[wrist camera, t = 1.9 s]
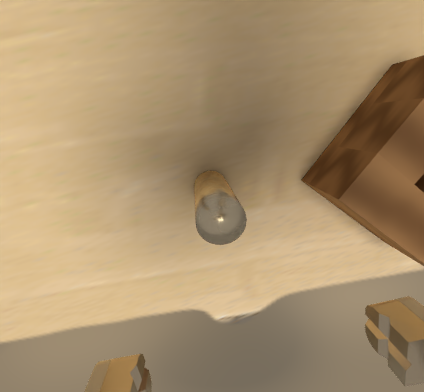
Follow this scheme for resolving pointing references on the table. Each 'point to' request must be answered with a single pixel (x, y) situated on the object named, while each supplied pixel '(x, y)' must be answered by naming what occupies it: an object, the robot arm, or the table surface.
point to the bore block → (381, 161)
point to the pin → (217, 209)
